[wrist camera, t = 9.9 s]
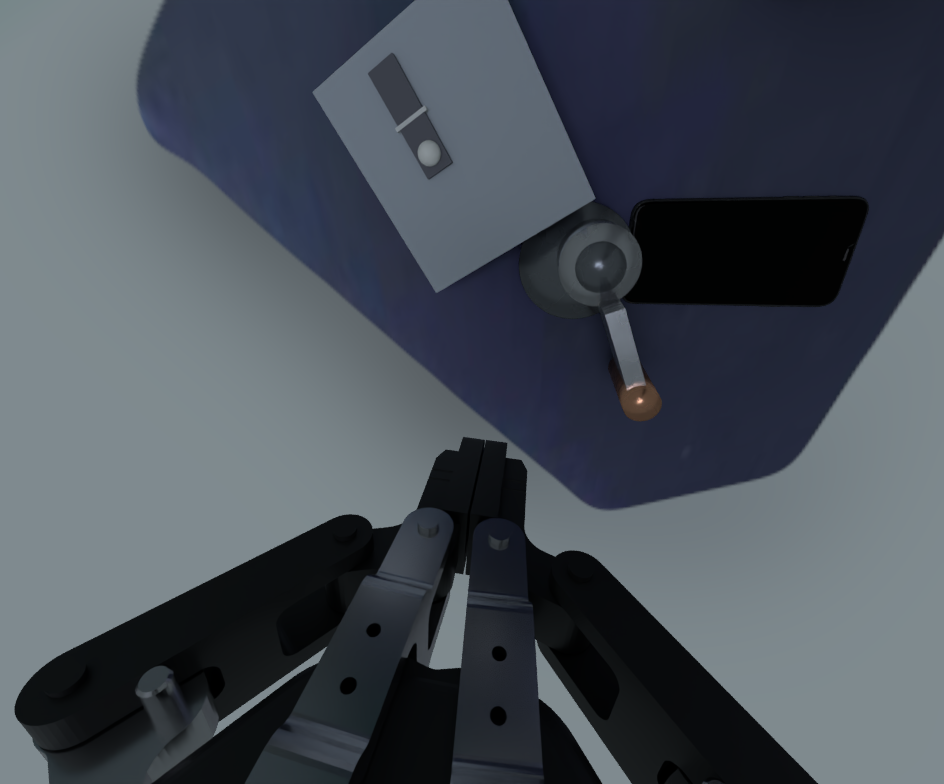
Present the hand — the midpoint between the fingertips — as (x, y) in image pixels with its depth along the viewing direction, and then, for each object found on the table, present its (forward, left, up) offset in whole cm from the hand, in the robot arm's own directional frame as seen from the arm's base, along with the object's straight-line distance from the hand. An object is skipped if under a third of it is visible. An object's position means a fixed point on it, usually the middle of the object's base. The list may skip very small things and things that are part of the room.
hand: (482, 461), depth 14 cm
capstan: (-5, +2, -22) cm, 23 cm away
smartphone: (-15, +5, -23) cm, 28 cm away
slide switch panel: (-2, -11, -22) cm, 25 cm away
